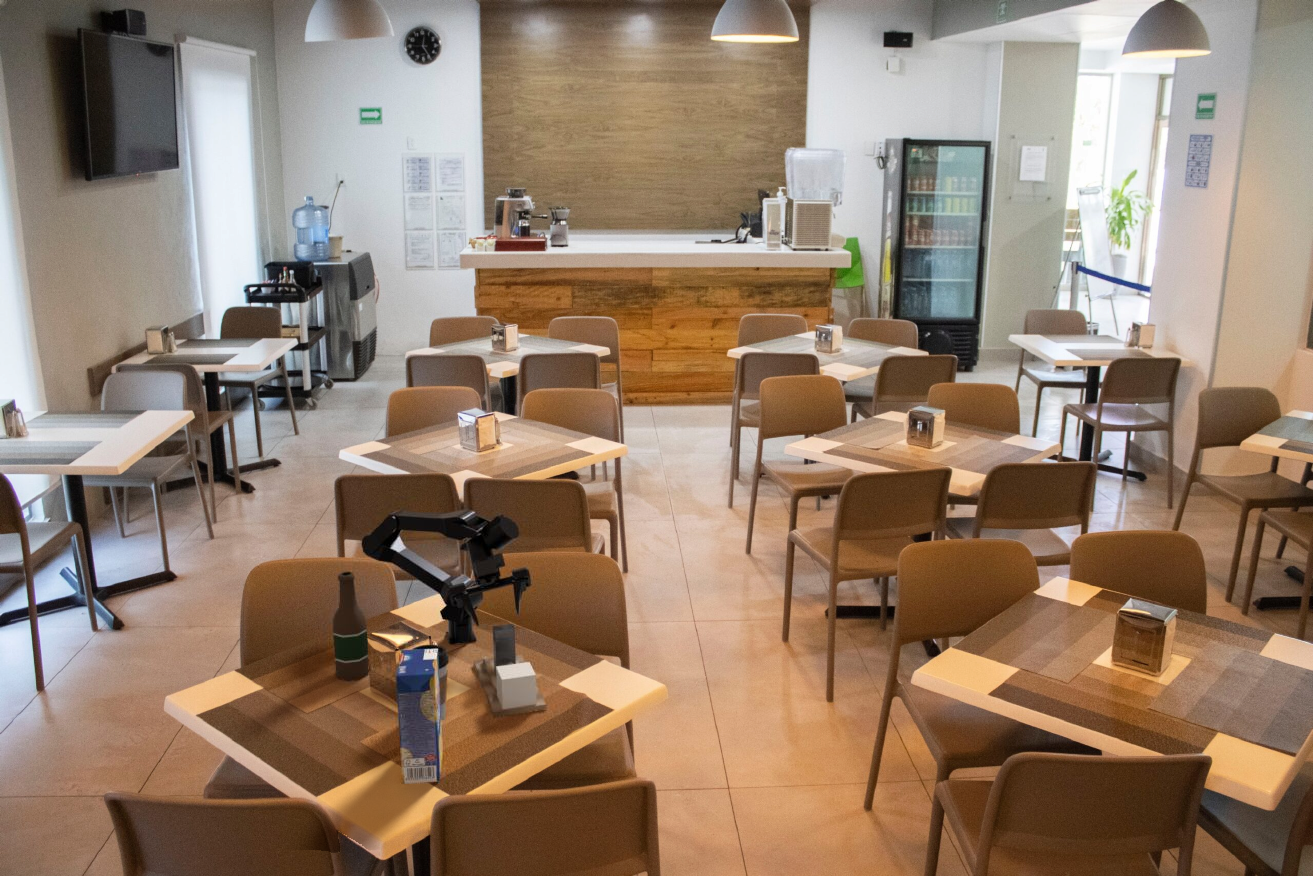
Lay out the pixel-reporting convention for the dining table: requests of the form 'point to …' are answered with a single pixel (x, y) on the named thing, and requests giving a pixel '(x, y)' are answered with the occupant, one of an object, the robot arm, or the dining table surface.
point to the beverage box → (419, 715)
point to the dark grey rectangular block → (504, 645)
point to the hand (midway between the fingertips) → (498, 620)
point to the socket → (516, 685)
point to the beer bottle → (350, 633)
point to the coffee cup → (440, 673)
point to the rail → (490, 688)
